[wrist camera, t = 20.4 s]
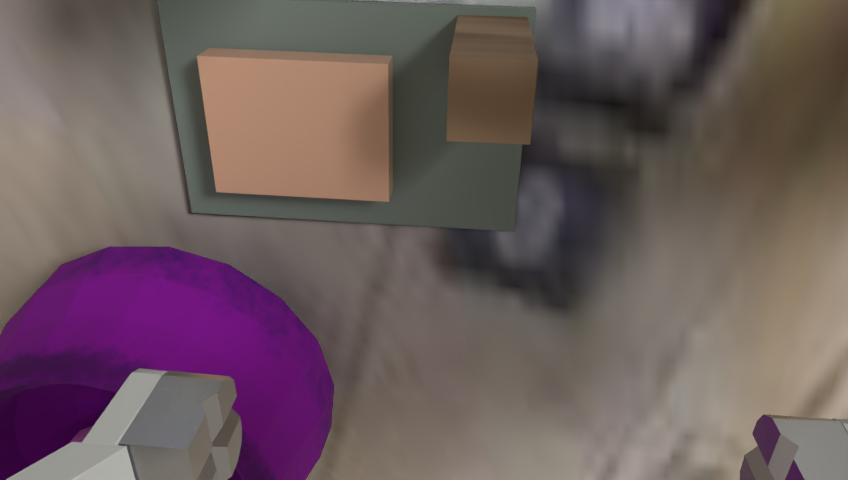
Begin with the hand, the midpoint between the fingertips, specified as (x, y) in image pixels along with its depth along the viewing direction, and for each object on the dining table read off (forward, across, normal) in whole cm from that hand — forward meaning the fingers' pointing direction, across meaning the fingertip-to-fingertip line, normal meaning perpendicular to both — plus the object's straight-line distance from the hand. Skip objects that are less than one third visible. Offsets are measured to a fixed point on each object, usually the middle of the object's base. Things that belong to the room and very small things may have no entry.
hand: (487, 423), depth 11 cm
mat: (+25, +7, +4) cm, 26 cm away
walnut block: (+24, 0, 0) cm, 25 cm away
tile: (+23, +4, +4) cm, 24 cm away
